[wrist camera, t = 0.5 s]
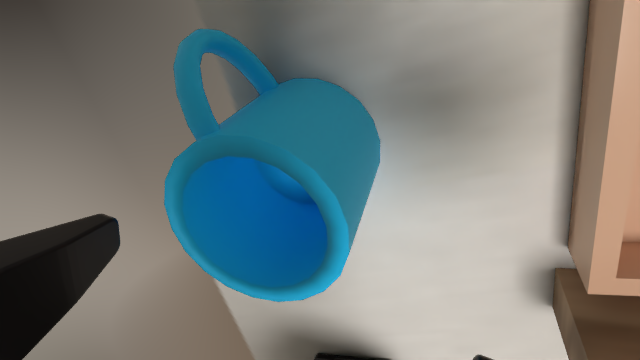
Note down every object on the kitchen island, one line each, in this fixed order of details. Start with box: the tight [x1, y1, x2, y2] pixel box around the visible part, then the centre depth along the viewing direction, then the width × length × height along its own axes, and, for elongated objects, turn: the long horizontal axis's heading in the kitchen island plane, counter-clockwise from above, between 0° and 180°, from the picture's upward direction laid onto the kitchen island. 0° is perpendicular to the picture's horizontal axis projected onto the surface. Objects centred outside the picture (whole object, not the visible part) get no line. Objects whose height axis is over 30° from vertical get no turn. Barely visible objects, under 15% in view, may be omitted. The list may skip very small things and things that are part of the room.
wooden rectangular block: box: [553, 268, 640, 360], centre depth 18 cm, size 3×5×8 cm, turn 102°
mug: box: [164, 29, 380, 302], centre depth 18 cm, size 12×8×8 cm
